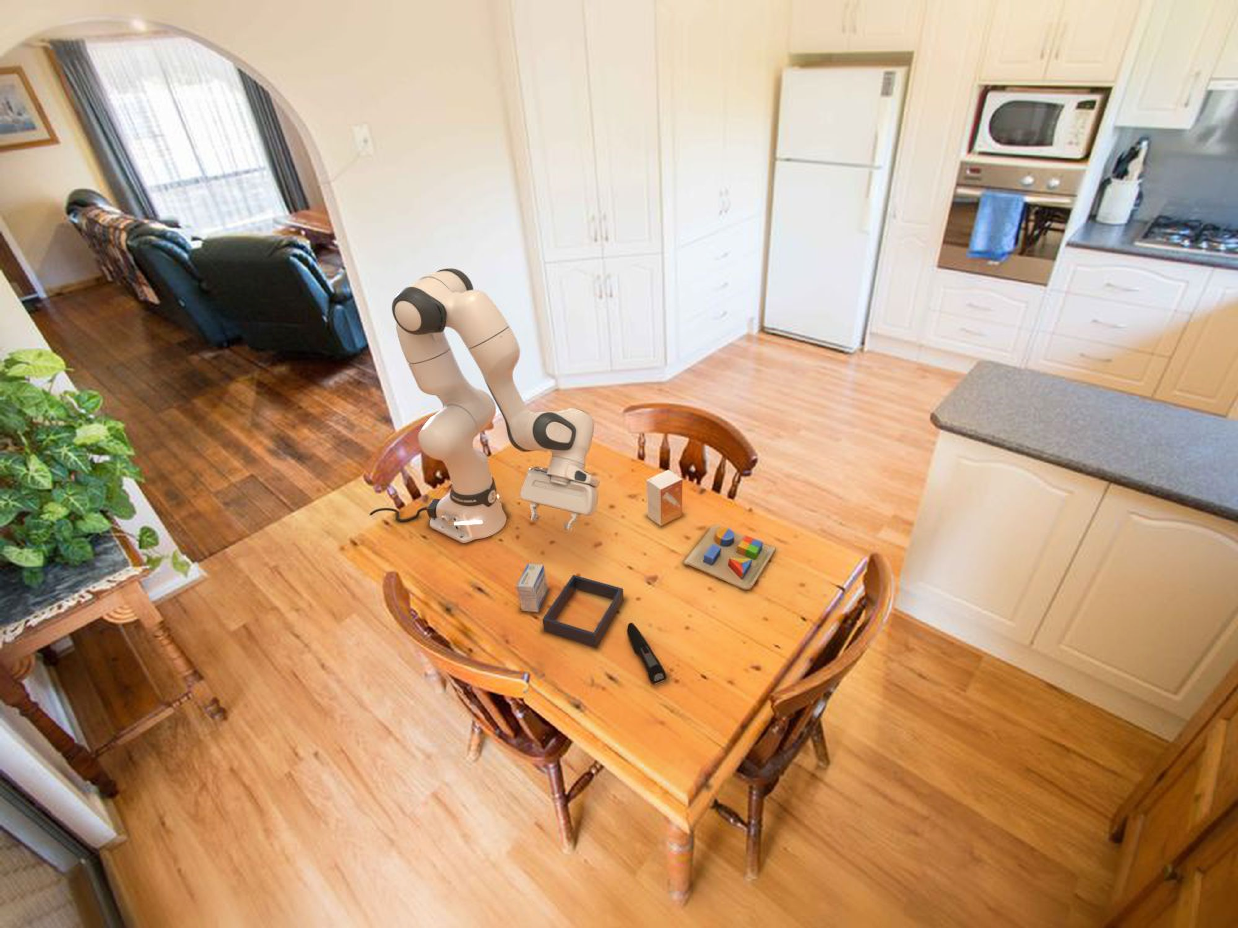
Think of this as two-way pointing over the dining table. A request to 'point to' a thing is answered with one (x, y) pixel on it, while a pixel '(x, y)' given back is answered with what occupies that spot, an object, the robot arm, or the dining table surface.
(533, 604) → the medicine box
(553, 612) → the dark rectangular frame
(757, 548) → the shape puzzle
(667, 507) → the small box
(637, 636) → the electric trimmer
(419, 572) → the dining table surface
